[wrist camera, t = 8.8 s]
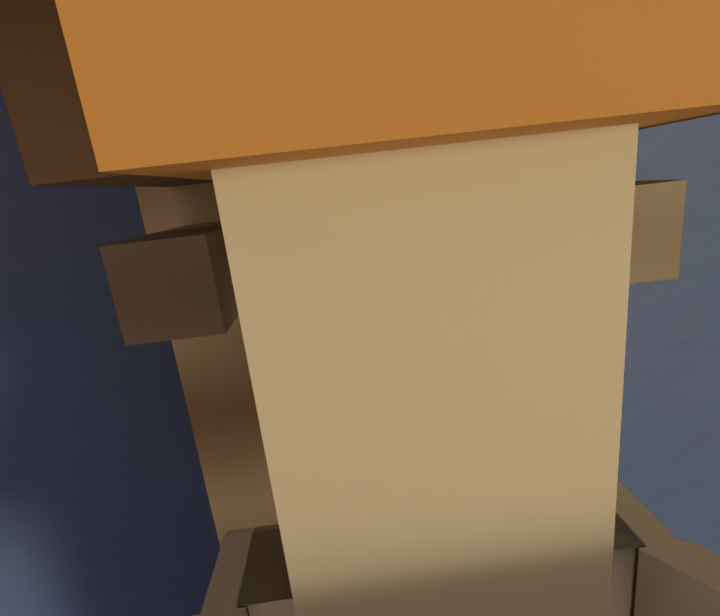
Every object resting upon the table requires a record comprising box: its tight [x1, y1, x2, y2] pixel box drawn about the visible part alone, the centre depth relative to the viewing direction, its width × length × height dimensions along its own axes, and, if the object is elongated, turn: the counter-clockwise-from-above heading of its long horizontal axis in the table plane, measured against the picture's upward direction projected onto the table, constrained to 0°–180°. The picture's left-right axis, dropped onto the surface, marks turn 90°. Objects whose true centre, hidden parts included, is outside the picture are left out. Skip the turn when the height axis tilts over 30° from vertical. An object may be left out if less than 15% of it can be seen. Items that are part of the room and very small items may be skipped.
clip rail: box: [0, 0, 720, 547], centre depth 10 cm, size 28×11×6 cm, turn 6°
